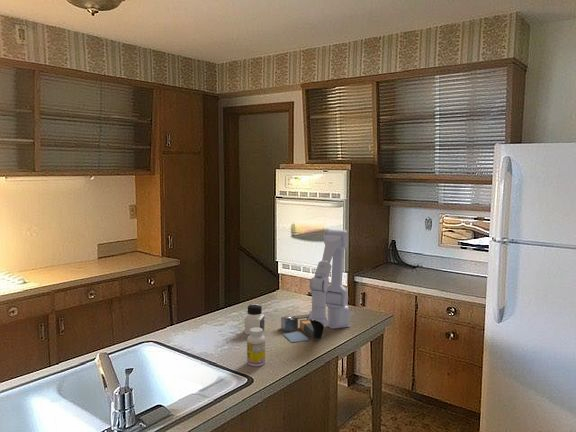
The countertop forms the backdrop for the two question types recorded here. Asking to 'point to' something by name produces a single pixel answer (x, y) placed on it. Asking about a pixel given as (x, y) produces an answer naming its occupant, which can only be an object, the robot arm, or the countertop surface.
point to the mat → (296, 337)
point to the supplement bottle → (256, 347)
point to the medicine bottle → (253, 318)
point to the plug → (307, 328)
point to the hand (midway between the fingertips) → (318, 337)
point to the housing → (292, 322)
